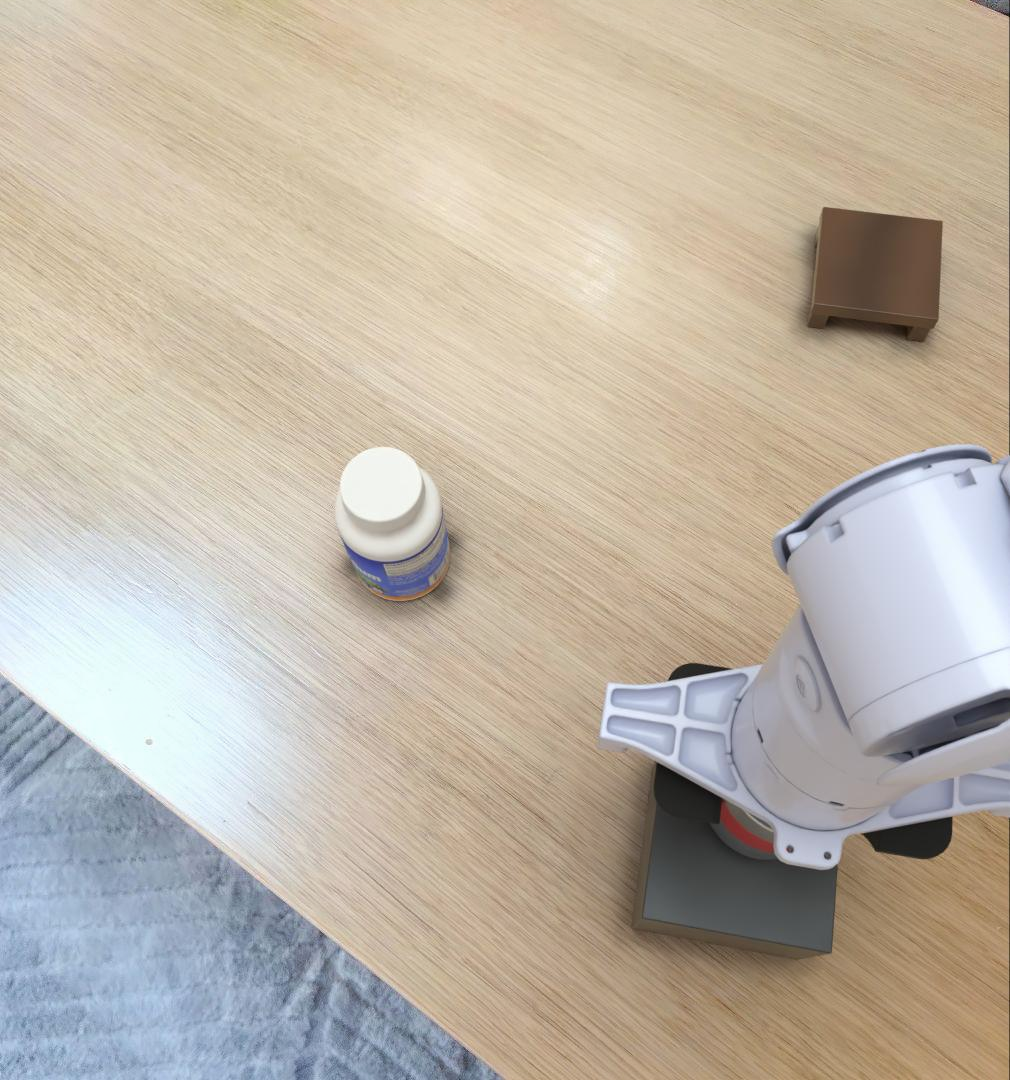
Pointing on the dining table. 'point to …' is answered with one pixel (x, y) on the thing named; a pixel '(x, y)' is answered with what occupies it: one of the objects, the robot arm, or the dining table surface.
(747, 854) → the can
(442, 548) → the pill bottle
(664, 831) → the square coaster
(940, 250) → the stool
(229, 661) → the dining table surface
